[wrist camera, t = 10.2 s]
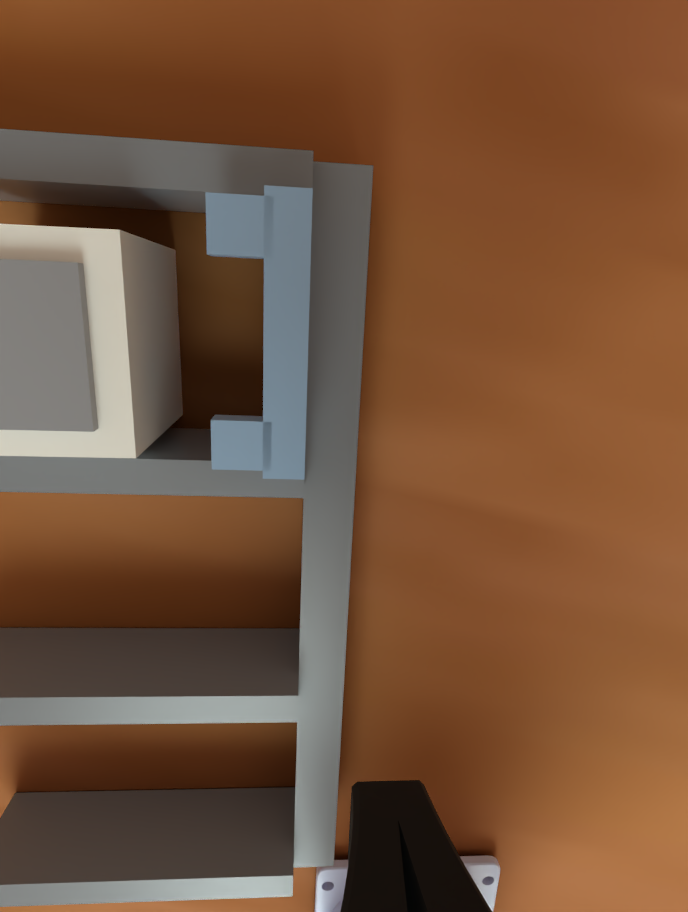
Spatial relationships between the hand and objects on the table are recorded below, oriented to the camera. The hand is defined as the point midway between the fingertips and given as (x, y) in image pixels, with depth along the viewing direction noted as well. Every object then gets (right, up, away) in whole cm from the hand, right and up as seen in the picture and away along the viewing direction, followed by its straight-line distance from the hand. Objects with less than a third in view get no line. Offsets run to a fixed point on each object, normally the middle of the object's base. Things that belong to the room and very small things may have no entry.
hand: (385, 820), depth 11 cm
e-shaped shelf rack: (-7, +4, +8) cm, 11 cm away
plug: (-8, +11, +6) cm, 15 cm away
